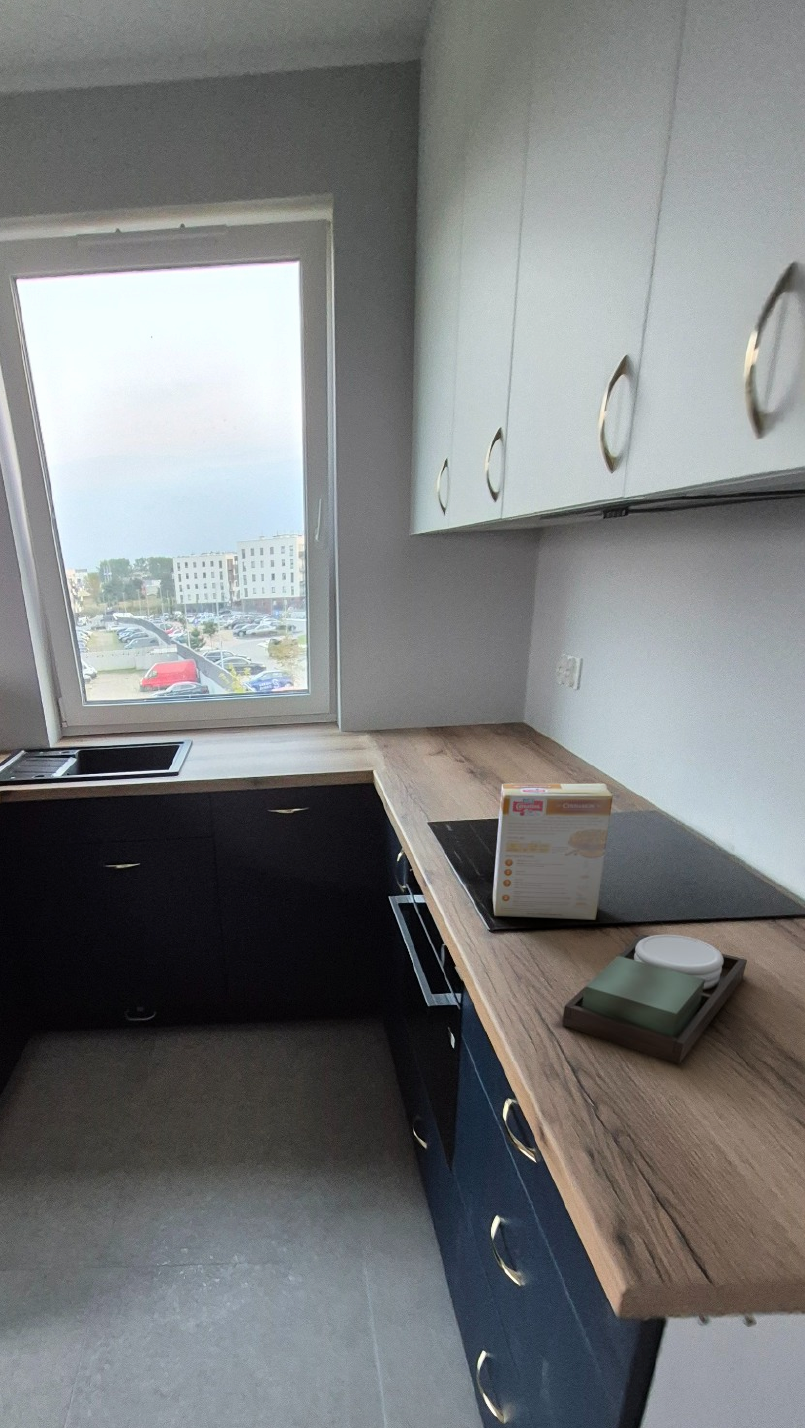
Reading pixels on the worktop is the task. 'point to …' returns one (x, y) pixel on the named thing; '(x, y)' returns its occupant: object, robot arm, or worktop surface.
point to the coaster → (682, 956)
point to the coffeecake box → (550, 850)
